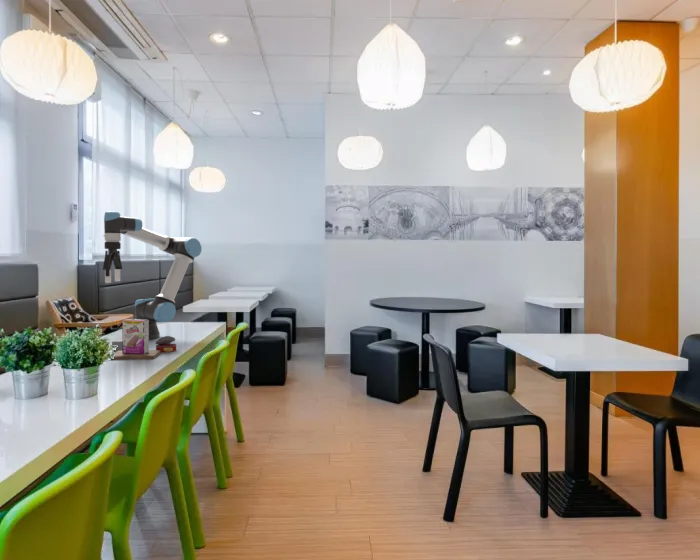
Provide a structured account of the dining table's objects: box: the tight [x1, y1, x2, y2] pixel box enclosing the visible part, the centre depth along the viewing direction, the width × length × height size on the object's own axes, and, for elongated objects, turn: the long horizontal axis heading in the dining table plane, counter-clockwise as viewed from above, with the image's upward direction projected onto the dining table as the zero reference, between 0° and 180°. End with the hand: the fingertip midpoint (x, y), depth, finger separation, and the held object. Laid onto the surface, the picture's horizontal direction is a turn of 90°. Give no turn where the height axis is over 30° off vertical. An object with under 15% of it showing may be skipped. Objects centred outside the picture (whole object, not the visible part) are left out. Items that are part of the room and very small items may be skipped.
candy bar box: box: [121, 318, 150, 354], centre depth 228 cm, size 11×5×16 cm, turn 86°
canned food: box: [154, 335, 177, 354], centre depth 243 cm, size 11×10×10 cm
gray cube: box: [111, 339, 122, 352], centre depth 243 cm, size 5×5×5 cm
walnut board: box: [112, 349, 162, 361], centre depth 229 cm, size 14×20×2 cm
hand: (112, 282), depth 247 cm, fingers open, 13 cm apart
